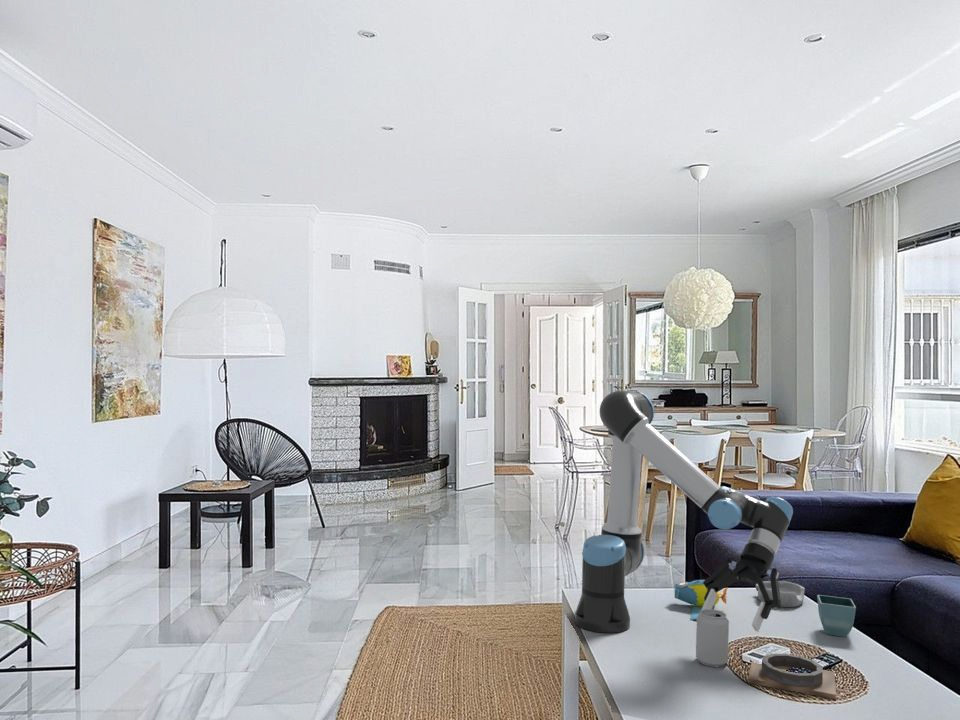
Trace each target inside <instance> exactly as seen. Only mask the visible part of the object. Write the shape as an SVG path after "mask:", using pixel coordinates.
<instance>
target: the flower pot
mask: <svg viewBox="0 0 960 720" xmlns="http://www.w3.org/2000/svg"><path fill="white" fill-rule="evenodd" d="M816 597H817V609H818V616H819V620H820V623H821V625H822V628H823V631H824V633H825V634H826V635H828V636H829V635H830V636H836V637H837V636H838V637H842V638H843V637H845V638H847V637H848V635H850V633H851V632H852V630H853V627H854V622H855V618H856V617H855V616H856V610H857V606H856V605H855V603H854V601H853V599H852V598H848V597H841V596H839V597H838V596H831V595H822V594H817V595H816Z"/></svg>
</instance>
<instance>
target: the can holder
mask: <svg viewBox="0 0 960 720" xmlns="http://www.w3.org/2000/svg"><path fill="white" fill-rule="evenodd" d="M761 659H762V664H757V663H754V662H752V661H751V664H750V667H749V668H750V669H749V672H748V676H747V684H752V685H757V686H758V685H759V686H763V687H769V688H772V689H773V688H774V689H779V690H783V689H784V691H789V690H790V692H794V691H795V693H799V692H801V693H800V694H805V693H806V694H807V695H810V696H811V695H812V696H817V697H822V698H827V699H832V700H837V691H836V690H837V689H836V676H835V671H831V670H827V669H823V668H824V667H823V666H822V665H821V664H819V663H818V662H816V661H815V660H813V659H809V658H807V657H804V656H801V655H795V654H789V653H769V654H767V655H766V654H765V655H763V656H762V658H761ZM792 667H802V668H805V669H808V670H810V671H811V673H793V672H788V671H786V670H788V669H790V668H792Z"/></svg>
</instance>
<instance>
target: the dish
mask: <svg viewBox="0 0 960 720" xmlns="http://www.w3.org/2000/svg"><path fill="white" fill-rule="evenodd" d="M763 582H764V585H765V587H766V590H767V592H768V594H769V597H770V599H771V600H773V596H772V588H771V580H769V581H763ZM778 584H779V591H780V598H781V608H782V607H783V608H795V607H799V606H801V605H802V604H803V603H804V599H805V594H806V588H805V587H804V586H802V585H800V584H798V583H795V582H794V583H793V582H790V581H785V580H784V581H780V580H779V581H778ZM755 590H756V591H757V598H758V600H759V601H760V602H764V603H766V602H765V601H764V598H763V595H762V593H761V591H760V588H759V586H758V583H755Z"/></svg>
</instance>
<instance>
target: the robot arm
mask: <svg viewBox="0 0 960 720" xmlns="http://www.w3.org/2000/svg"><path fill="white" fill-rule="evenodd" d="M599 416H600V419H601V422H602V423H603V425H604V426H605V427H606V429H607V430H608V431H607V432H608V433H607V435H608V437H609V438H610V439H611V440H612V446H611V447H612V451H611V463H610V464H611V465H610V480H609V493H608V504H607V505H608V506H607V508H608V510H607V520H606V522H605V523H604V524H602V526H601V534H598V535H592V536H589V537H587V539H585V541H584V542H583V545H582V546H583V547H582V551H581V552H582V553H581V554H582V556H581V557H582V560H581V561H582V567H581V568H582V570H581V572H582V573H581V575H582V576H581V595H580V598H579V601H578V604H577V607H576V609H575V613H574V623H575V624H576V625H577V626H578V627H580V628H582V629H583V630H587V631H591V632H596V633H607V634H608V633H609V634H610V633H611V634H612V633H620V632H624V631H627V630H628V629H630V627H631V616H630V612H629V609H628V606H627V603H626V600H625V579H626V578H625V577H626V576H628V575H630V574H631V573H633V572H635V571H636V570H638V568H639V567H640V566H641V564H642V563H643V561H644V558H645V551H646V550H645V545H644V543H643V541H642V532H643V531H642V529H641V528H640V527H639V526H638V516H639V515H638V514H639V498H640V485H641V468H642V456H643V457H644V458H645V459H646V460H647V461H648V462H650V464H652V466H654V467H655V468H656V469H657V470H658V471H660V472H661V474H663V475H664V476H665V477H666V478H667V479H668V480H669V481H670V482H671V483H672V484H673V485H675V486H676V487H677V488H678V489H679V490H680V491H681V492H682V493H684V494H685V495H686V496H687V497H688V498H689V499H690V500H692V502H694V503H695V504H696V505H697V506H698V507H699V508H700V509H701V510H702V511H703V512H704V513H705V514H707V517H708V520H709V522H710V523H711V524H712V525H713V526H714V527H715V528H718V529H720V530H730V529H733V528H735V527H736V526H738V525H739V524H740V523H741V524H744V525H746V526H748V527H751V528H752V530H751V532H750V533H749V537H748V539H747V541H746V544H745V546H744V547H743V550H742V551H741V553H740V558H739V560H738V561H734V560H732V558H730V557H727V558H726V560H725V562H724V563H723V564H722V565H721V566H720V567H718V568H717V570H715V571H713V573H712V574H711V575H709V576H708V577H707V578H706V579H704V580H705V581H704V582H703V584H704V585H705V587H706V588H707V593H706V595H705V597H704V600H705V603H704V605H703V607H702V609H701V610H704V609H712V607H713V605H714V603H715V600H716V598H717V596H718V595H717V592H718V591H719V592H720V591H722V590H723V589H724V590H725V588H728V587H729V586H730V585H732V584H734V583H738V582H741V581H742V582H745V583H750V584H752V585H755V584H758V586H759V588H760V591H761V593H762V595H763V598H764V601H765V602H766V603H764V602H762V601H760V604H759V606H758V608H757V611H756V613H755V616H754V618H753V620H752V622H751V627H752V628H753V630H754V631H755V632H758V633H759V631H760V629H761V627H762V623H763V622H764V620H767V619H768V618H769V616H770V613H771V611H772V609H774V608H777V609H781V608H782V607H781V598H780V591H779V584H778V581H780V577H781V575H780V573H779V571H778V569H777V568H775V567H774V568H772V569H770V568H771V566H772V564H773V562H774V560H775V556H776V554H777V552H778V551H779V548H780V546H781V543H782V541H783V539H784V537H785V534H786V533H787V531H788V527H789V526H790V522H791V520H792V517H793V513H794V509H793V506H792V505H791V504H790V503H789V502H788V501H787V500H786V499H783V498H781V497H775V496H769V497H767V498H766V500H764V501H763V500H760V499H758V498H755V497H752V496H751V495H748V494H746V493H744V492H741V491H738V490H736V489H735V488H731V487H727V486H724V485H722V486H720V485H719V484H718V483H717V482H715V480H713V479H712V478H711V477H710V476H708V474H706V473H705V472H704V471H703V470H702V469H701V468H700V467H699V466H697V465H696V464H695V463H694V462H693V461H692V460H690V458H688V457H687V456H686V455H685V454H683V452H681V450H679V449H678V448H677V447H676V446H675V445H674V444H673V443H671V442H670V440H668V439H667V438H666V437H664V436H663V434H662V433H660V432H659V431H658V430H657V429H656V428H654V427H653V426H652V425H651V423H652V422H653V420H654V416H655V407H654V404H653V401H652V400H651V399H650V397H648V395H646V394H645V393H643V392H640V391H637V390H633V389H632V390H615V391H613V392H610V393H608V394H607V395H606V396H605V397H604V398H603V399H602V401H601V402H600V406H599ZM737 574H738V575H737ZM766 577H769V579H770V580H769V581H771V588H772V596H773V600H771V599H770V597H769V594H768V592H767V590H766V587H765V585H764V582H765V581H764V579H765V578H766ZM714 606H715V605H714Z"/></svg>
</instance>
